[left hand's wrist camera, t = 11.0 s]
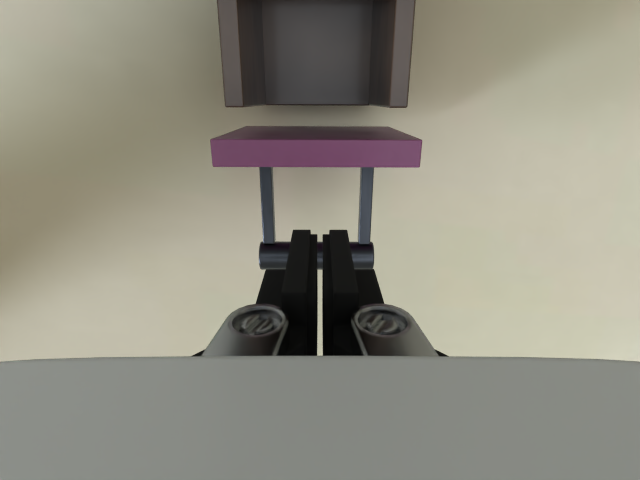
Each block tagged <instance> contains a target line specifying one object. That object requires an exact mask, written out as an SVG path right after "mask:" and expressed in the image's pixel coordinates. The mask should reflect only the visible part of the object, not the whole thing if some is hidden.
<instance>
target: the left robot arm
mask: <svg viewBox="0 0 640 480" xmlns="http://www.w3.org/2000/svg"><path fill="white" fill-rule="evenodd" d="M0 480H640V362H637V361H620V360H604V359H574V358H536V357H449V356H447V355H445V354H443V353H441V352H439V351H437V350H435V349H434V348H433V347H432V345H431V344H430V342H429V341H428V339H427V338H426V336H425V335H424V333H423V332H422V330H421V329H420V327H419V326H418V324H417V323H416V321H415V320H414V318H413V317H412V316H411V315H410V314H409V313H408V312H406V311H405V310H403V309H401V308H399V307H396V306H393V305H387V304H384V301H383V298H382V294H381V291H380V288H379V284H378V281H377V278H376V274H375V271H374V269H354V264H353V259H352V254H351V248H350V243H349V238H348V233H347V230H330V232H329V234H323V356H317V234H311V232H310V230H293V233H292V238H291V243H290V248H289V254H288V259H287V264H286V269H266V271H265V274H264V278H263V281H262V284H261V288H260V291H259V294H258V298H257V301H256V304H253V305H247V306H244V307H241V308H239V309H237V310H235V311H234V312H232V313H231V314H230V315H229V316H228V317H227V318H226V320H225V321H224V323H223V324H222V326H221V327H220V329H219V330H218V332H217V333H216V335H215V336H214V338H213V339H212V341H211V342H210V344H209V345H208V347H207V348H206V349H205V350H203V351H201V352H199V353H197V354H195V355H193V356H190V357H99V358H66V359H34V360H20V361H5V362H0Z"/></svg>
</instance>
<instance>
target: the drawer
mask: <svg viewBox="0 0 640 480" xmlns="http://www.w3.org/2000/svg"><path fill="white" fill-rule="evenodd" d="M217 7H218V19H219V32H220V45H221V58H222V71H223V84H224V97H225V106H226V107H249V106H260V105H371V106H380V107H389V108H406V107H407V105H408V92H409V79H410V66H411V53H412V40H413V27H414V14H415V0H217ZM210 142H211V153H212V163H213V167H259V168H260V187H261V207H262V227H263V242H261V243H260V247H259V265H260V268H261V269H286V264H287V259H288V254H289V248H290V243H291V242H275V216H274V190H273V167H361V172H360V198H359V223H358V242H349V243H350V248H351V254H352V259H353V264H354V269H373V266H374V246H373V243H372V242H370V232H371V213H372V193H373V174H374V167H420V159H421V148H422V140H421V139H418V138H415V137H413V136H410V135H408V134H405V133H403V132H400V131H398V130H395V129H393V128H390V127H315V126H246V127H243V128H240V129H238V130H235V131H232V132H229V133H227V134H224V135H221V136H218V137H216V138H213V139H211V140H210ZM317 269H321V270H323V242H317Z"/></svg>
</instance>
